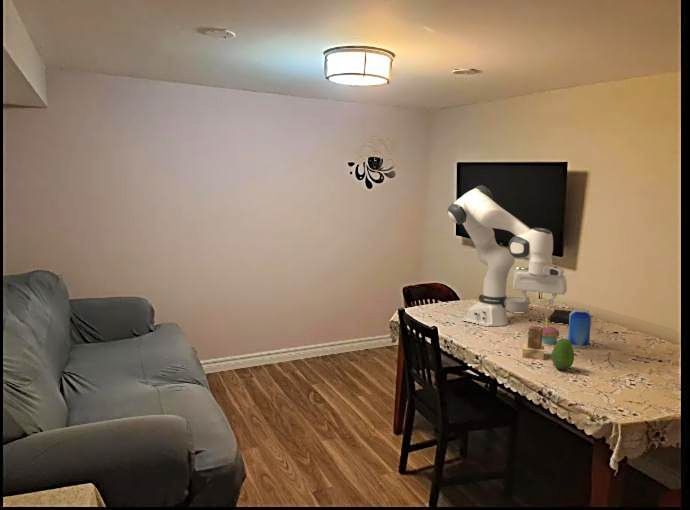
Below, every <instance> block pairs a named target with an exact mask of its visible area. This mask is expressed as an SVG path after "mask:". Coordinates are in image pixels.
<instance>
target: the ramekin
mask: <svg viewBox="0 0 690 510" xmlns="http://www.w3.org/2000/svg"><path fill="white" fill-rule="evenodd" d="M529 304H530V299H529V302H524V296H513V295H511V296H510V295H509V296H507V304H506V311H507V310H508V311H511V312H526V313H527V312H528V310H529V306H530V305H529ZM508 311H507V312H508ZM511 312H510V313H511Z"/></svg>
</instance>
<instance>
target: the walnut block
mask: <svg viewBox="0 0 690 510" xmlns="http://www.w3.org/2000/svg"><path fill="white" fill-rule="evenodd" d="M542 334H543V328H542V327H541V326H535V325H531V326H530V327H528V336H527V337H528V338H527V344H528V348H533V349H540V348H541V347H542V345H543V341H542Z"/></svg>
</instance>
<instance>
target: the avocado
mask: <svg viewBox="0 0 690 510" xmlns="http://www.w3.org/2000/svg"><path fill="white" fill-rule="evenodd" d="M574 352H575V351H574V347H572V343H571V341H570V340H568V338H561V339H559V340H558V341H557V343H556V344H555V346H554V347H553V350H552V351H551V360H552V364H553V366H555V368H556V369H558V370H561V371H566V370H568V369H570V368H571V367H572V366H573V363H574V361H575V353H574Z"/></svg>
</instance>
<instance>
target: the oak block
mask: <svg viewBox="0 0 690 510" xmlns="http://www.w3.org/2000/svg"><path fill="white" fill-rule="evenodd" d="M521 356H522V357H521V358H522V359H529V358H530V359H531V358H532V360H538V359H541V360H540V361H544V360H545V359H544V357H545V344H544V345H543V344H542V347H541V348H540V349H533V348H528V343H525V342H524V343H523V346H522V355H521Z"/></svg>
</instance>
